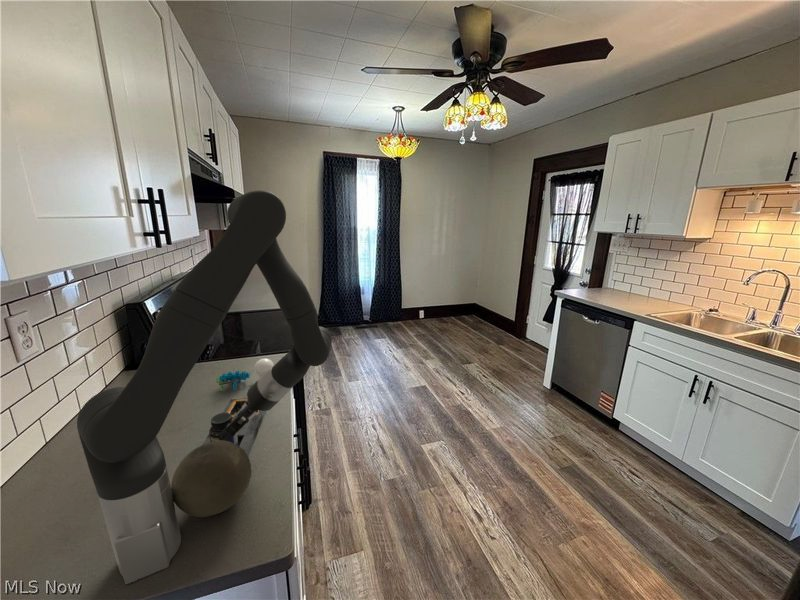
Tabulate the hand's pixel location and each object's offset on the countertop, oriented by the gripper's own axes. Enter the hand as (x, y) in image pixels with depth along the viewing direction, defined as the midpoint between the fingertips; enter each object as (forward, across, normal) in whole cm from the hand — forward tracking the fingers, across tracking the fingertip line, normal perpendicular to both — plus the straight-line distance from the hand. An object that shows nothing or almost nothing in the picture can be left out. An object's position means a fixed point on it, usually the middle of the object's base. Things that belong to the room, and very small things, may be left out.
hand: (231, 426), depth 82 cm
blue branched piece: (+19, -33, -6) cm, 39 cm away
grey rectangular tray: (+9, -8, +3) cm, 13 cm away
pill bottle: (+8, 0, +4) cm, 9 cm away
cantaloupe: (+3, +16, +9) cm, 19 cm away
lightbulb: (+10, -34, +2) cm, 35 cm away
